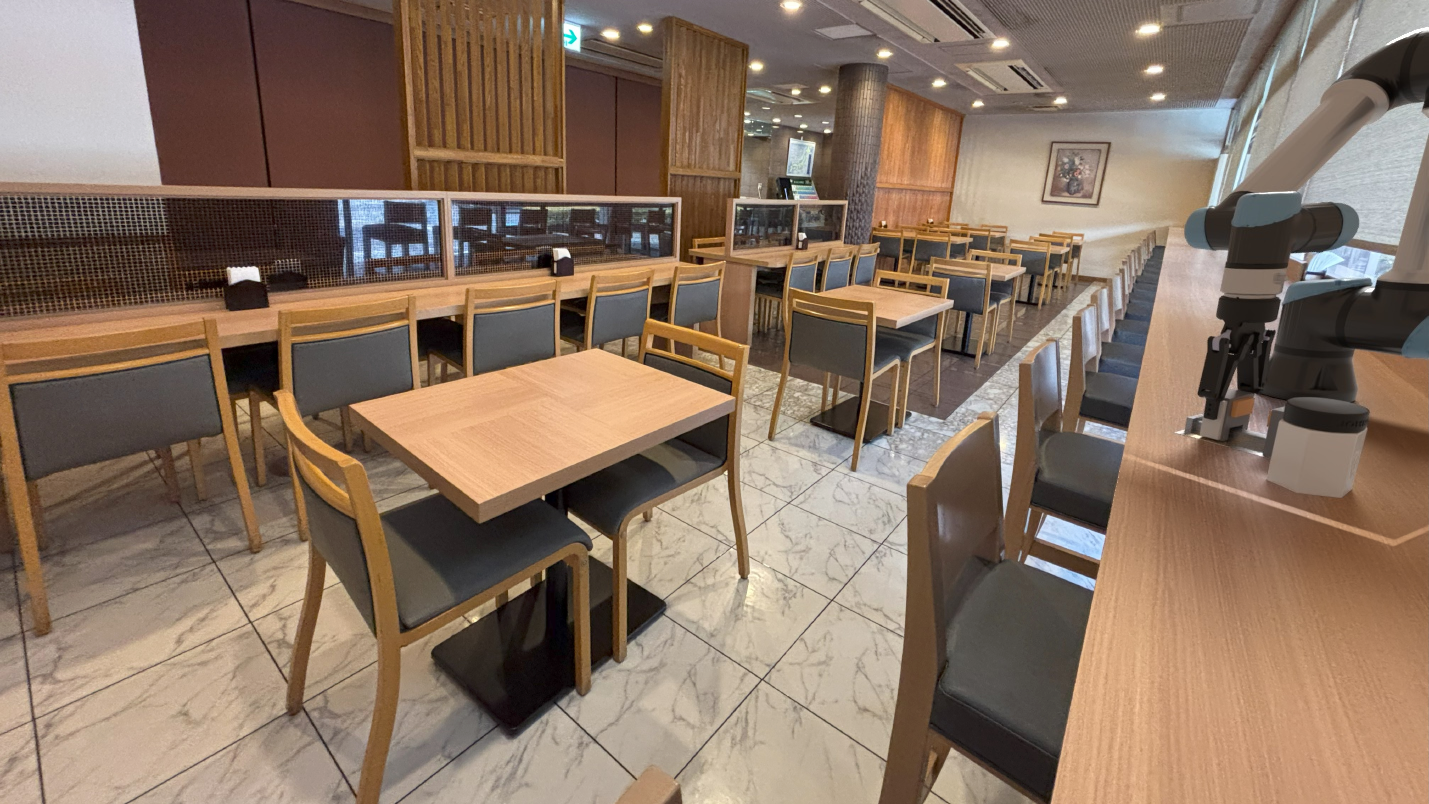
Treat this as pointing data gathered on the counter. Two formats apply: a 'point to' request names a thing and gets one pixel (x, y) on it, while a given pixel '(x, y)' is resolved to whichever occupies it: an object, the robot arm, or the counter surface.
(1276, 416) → the fixed finger
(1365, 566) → the counter surface
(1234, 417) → the block
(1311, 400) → the jar
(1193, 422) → the rail
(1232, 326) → the robot arm
